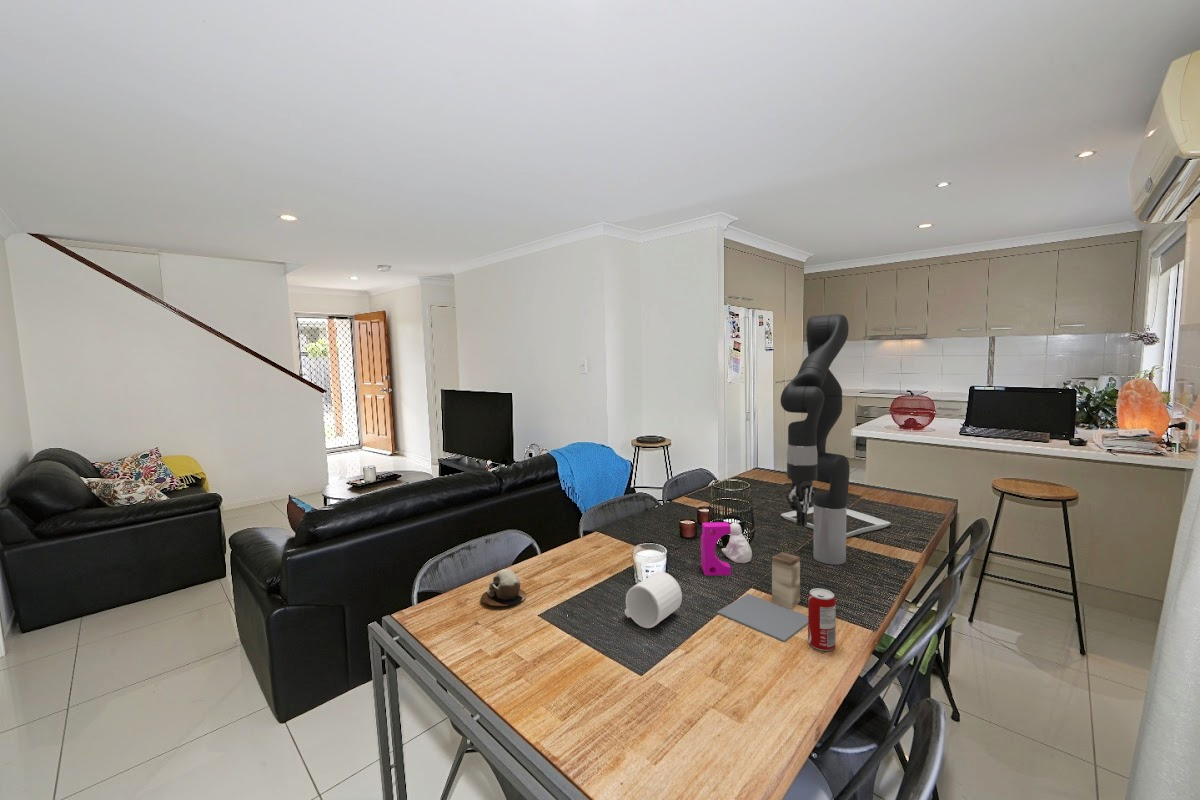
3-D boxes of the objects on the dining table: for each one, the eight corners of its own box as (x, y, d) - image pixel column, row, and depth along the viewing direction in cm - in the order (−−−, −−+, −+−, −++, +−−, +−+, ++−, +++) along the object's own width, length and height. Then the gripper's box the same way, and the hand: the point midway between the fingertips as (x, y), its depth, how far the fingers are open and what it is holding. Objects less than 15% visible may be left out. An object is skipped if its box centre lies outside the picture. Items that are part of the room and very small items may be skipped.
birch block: (781, 595, 133) (781, 552, 132) (799, 602, 129) (799, 557, 128) (772, 602, 130) (771, 557, 129) (790, 608, 126) (790, 562, 125)
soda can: (812, 635, 114) (812, 584, 113) (838, 643, 110) (838, 590, 109) (804, 646, 109) (804, 593, 108) (831, 655, 106) (831, 600, 105)
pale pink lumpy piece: (745, 567, 151) (745, 529, 151) (720, 560, 158) (720, 523, 157) (755, 561, 156) (755, 524, 155) (731, 554, 162) (731, 518, 161)
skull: (468, 597, 134) (487, 561, 140) (493, 613, 140) (510, 579, 145) (496, 605, 126) (515, 568, 132) (521, 622, 132) (538, 586, 138)
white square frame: (779, 522, 193) (779, 513, 193) (829, 512, 205) (829, 503, 204) (838, 545, 169) (839, 533, 168) (892, 531, 180) (892, 521, 180)
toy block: (701, 568, 152) (725, 567, 152) (705, 577, 146) (730, 576, 146) (700, 520, 151) (725, 519, 151) (704, 526, 145) (730, 526, 144)
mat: (747, 595, 134) (747, 593, 134) (813, 619, 120) (813, 618, 120) (716, 613, 125) (716, 611, 125) (784, 642, 111) (784, 640, 111)
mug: (669, 565, 125) (645, 579, 117) (689, 603, 122) (667, 620, 114) (636, 582, 132) (612, 597, 125) (655, 619, 129) (631, 636, 122)
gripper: (800, 456, 140) (800, 516, 141) (776, 463, 131) (776, 527, 132) (827, 459, 134) (826, 522, 135) (803, 467, 125) (803, 534, 127)
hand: (801, 525), depth 134 cm, fingers closed
